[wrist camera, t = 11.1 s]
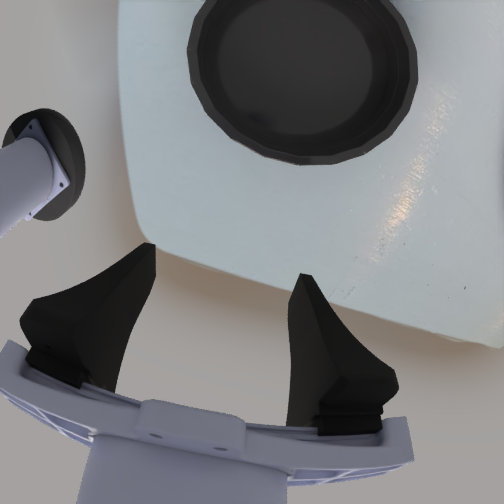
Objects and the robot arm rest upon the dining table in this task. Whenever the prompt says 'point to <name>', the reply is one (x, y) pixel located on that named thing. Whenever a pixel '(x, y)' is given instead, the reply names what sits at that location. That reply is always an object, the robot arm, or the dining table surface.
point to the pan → (303, 75)
